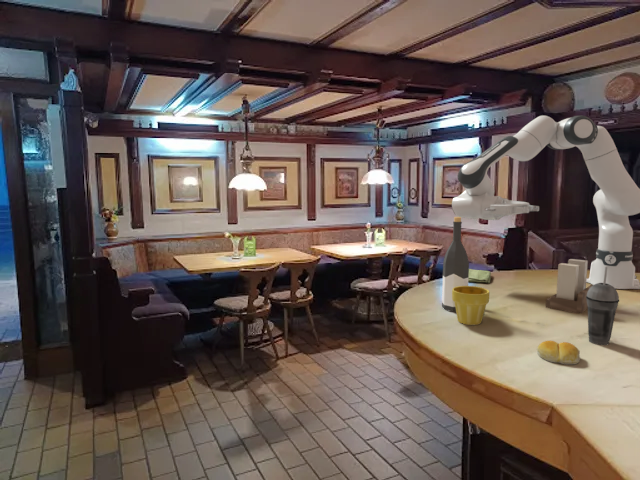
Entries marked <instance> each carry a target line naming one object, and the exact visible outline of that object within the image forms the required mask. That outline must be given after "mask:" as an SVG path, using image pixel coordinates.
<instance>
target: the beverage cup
mask: <svg viewBox="0 0 640 480" xmlns="http://www.w3.org/2000/svg"><path fill="white" fill-rule="evenodd" d="M606 276H607V267H605V273H604V281H603V283H597V284H595V285H593V284H592V285H593V286H592V287H590V289H589V290H588V292H587V296H586V298H587V305H588V309H587V330H588V331H587V333H588V334H587V336H588V342H589V343H591V344H594V345H598V346H608V345H610V341H611V337H612V334H613V333H612V332H613V328H614V321H615V317H616V311H617V309H618V306H619V302H620V299H619V297H620V296H619V293H618V291H617V290H616V289H615V288H614V287H613V286H611V285H609V284H607V283H606Z"/></svg>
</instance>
